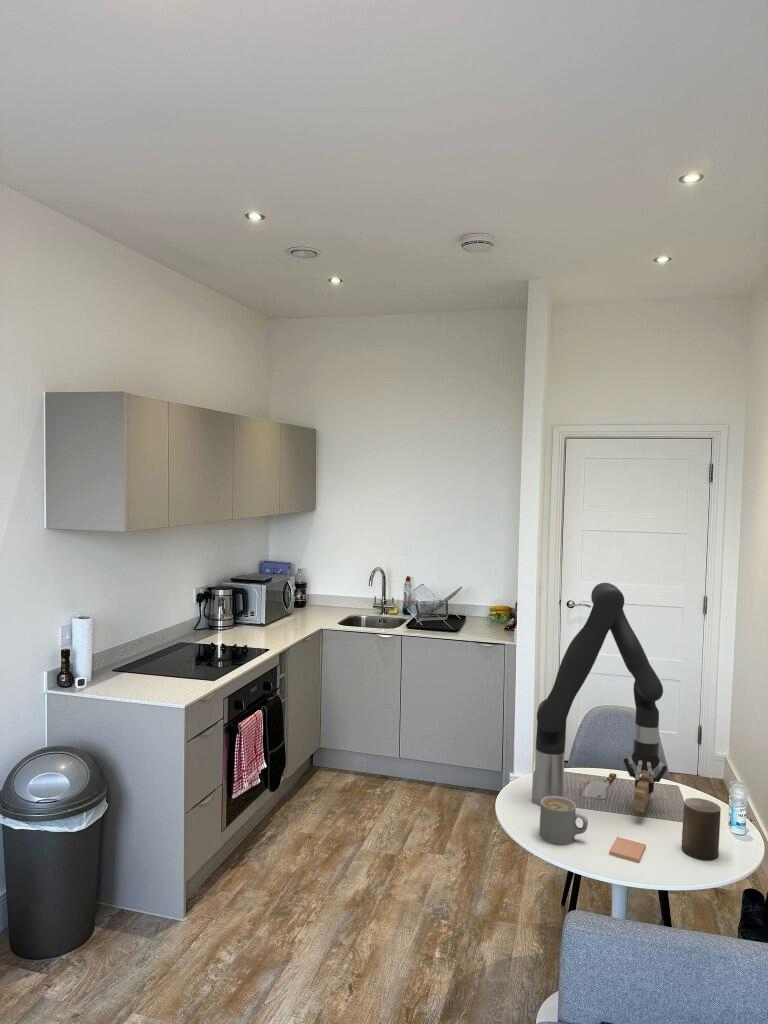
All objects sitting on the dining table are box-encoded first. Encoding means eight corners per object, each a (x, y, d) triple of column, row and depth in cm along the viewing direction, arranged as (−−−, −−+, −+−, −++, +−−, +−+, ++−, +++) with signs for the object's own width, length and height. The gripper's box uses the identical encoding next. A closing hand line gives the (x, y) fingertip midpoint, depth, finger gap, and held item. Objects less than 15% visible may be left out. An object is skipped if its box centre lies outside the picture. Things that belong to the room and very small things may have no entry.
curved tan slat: (643, 812, 219) (644, 793, 219) (633, 810, 220) (634, 791, 220) (653, 786, 238) (654, 768, 238) (643, 784, 240) (644, 767, 239)
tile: (616, 841, 210) (609, 856, 201) (617, 836, 210) (609, 850, 201) (645, 849, 206) (638, 865, 197) (645, 844, 206) (639, 859, 197)
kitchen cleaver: (594, 769, 261) (622, 774, 255) (594, 772, 261) (622, 777, 255) (574, 793, 240) (604, 799, 235) (574, 796, 240) (604, 802, 235)
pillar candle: (711, 864, 198) (714, 811, 197) (675, 851, 204) (678, 799, 204) (723, 852, 205) (726, 800, 204) (688, 840, 211) (691, 789, 211)
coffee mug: (534, 838, 209) (536, 805, 208) (545, 825, 217) (547, 793, 217) (580, 852, 202) (582, 817, 201) (590, 838, 210) (591, 804, 210)
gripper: (621, 738, 228) (619, 791, 229) (668, 746, 222) (666, 801, 223) (625, 731, 235) (623, 783, 236) (671, 739, 229) (669, 792, 229)
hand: (644, 791), depth 229 cm, fingers closed on curved tan slat, 3 cm apart
